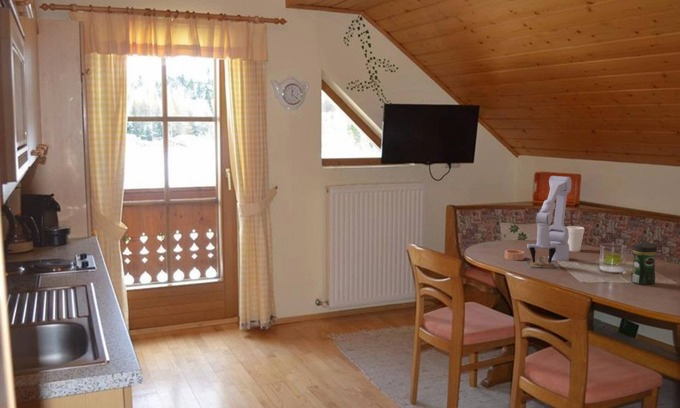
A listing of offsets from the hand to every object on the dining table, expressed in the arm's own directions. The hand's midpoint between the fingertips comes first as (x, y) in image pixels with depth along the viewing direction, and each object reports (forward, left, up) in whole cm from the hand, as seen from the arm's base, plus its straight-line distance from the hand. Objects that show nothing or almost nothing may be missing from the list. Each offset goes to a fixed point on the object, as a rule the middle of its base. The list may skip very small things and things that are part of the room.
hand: (541, 262), depth 316 cm
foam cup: (-26, -42, -2) cm, 49 cm away
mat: (0, 0, -2) cm, 2 cm away
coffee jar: (-40, +25, -2) cm, 47 cm away
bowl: (+11, -15, -2) cm, 19 cm away
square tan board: (0, 0, -2) cm, 2 cm away
